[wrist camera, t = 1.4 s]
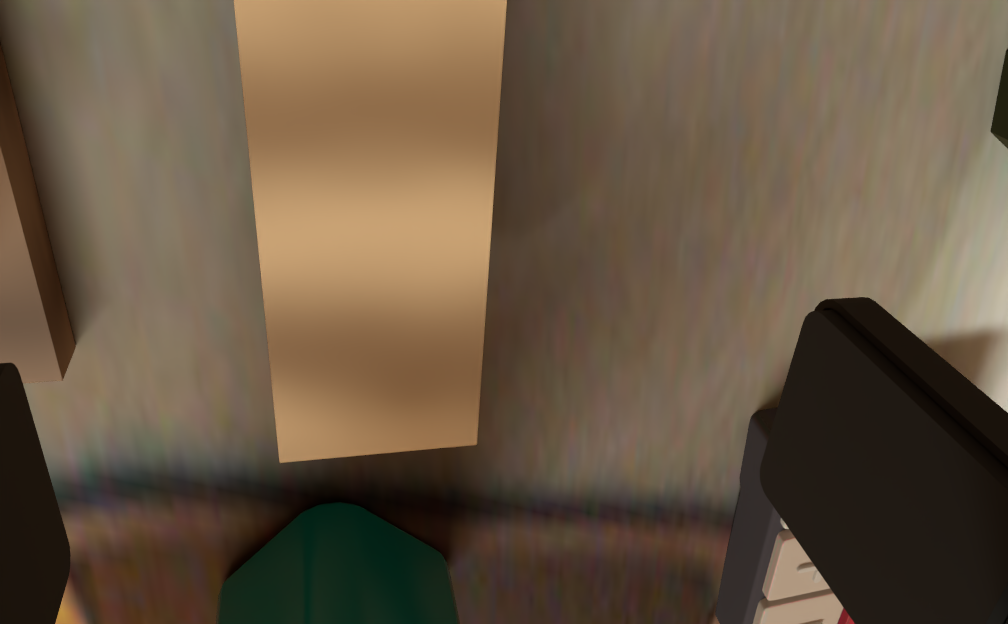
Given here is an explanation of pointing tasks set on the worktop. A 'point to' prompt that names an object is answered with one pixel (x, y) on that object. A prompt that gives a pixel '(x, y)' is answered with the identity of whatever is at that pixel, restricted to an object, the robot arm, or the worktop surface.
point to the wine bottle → (1002, 107)
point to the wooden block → (373, 214)
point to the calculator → (769, 556)
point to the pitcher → (340, 575)
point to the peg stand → (27, 262)
